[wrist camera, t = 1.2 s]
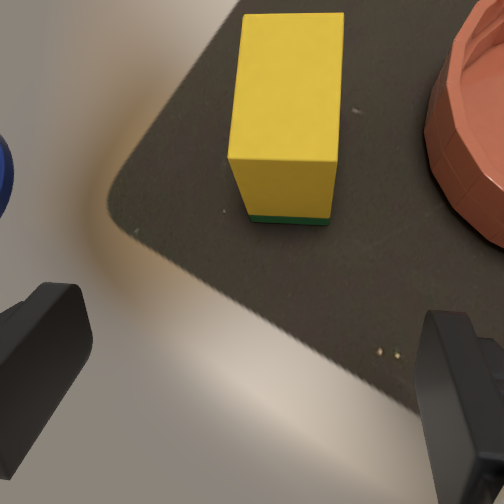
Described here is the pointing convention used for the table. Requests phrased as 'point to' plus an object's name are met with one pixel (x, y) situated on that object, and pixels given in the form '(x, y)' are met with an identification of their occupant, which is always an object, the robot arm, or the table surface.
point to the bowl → (472, 121)
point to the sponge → (287, 116)
